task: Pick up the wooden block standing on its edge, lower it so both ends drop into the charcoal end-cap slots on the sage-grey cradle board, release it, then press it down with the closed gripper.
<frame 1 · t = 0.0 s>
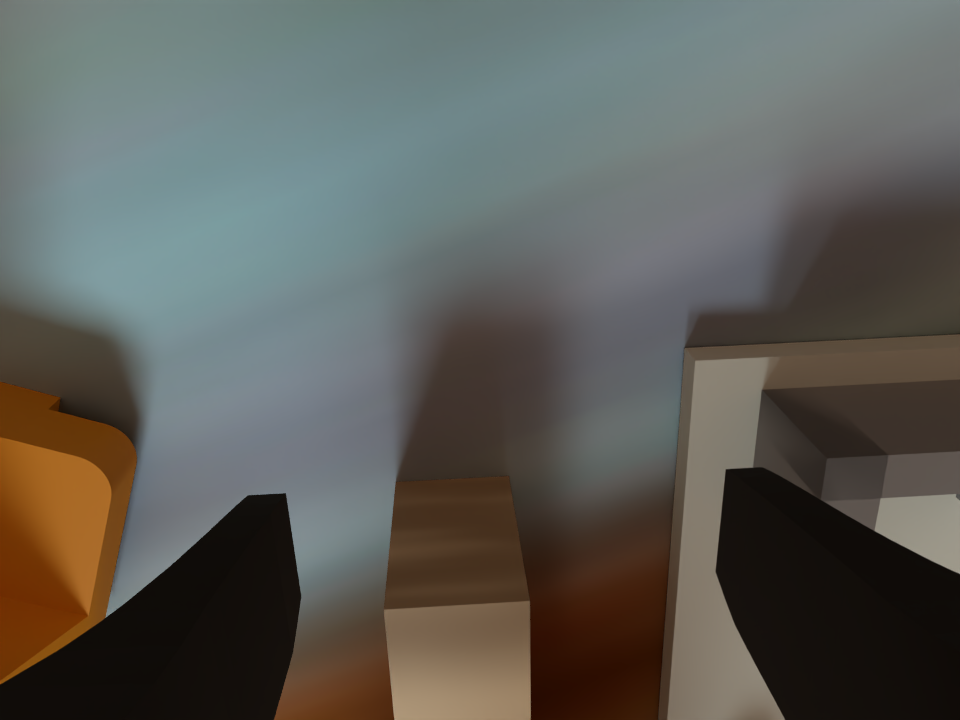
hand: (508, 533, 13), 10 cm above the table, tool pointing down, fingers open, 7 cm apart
wooden block: (461, 652, 27), on the table
cradle: (833, 633, 27), on the table
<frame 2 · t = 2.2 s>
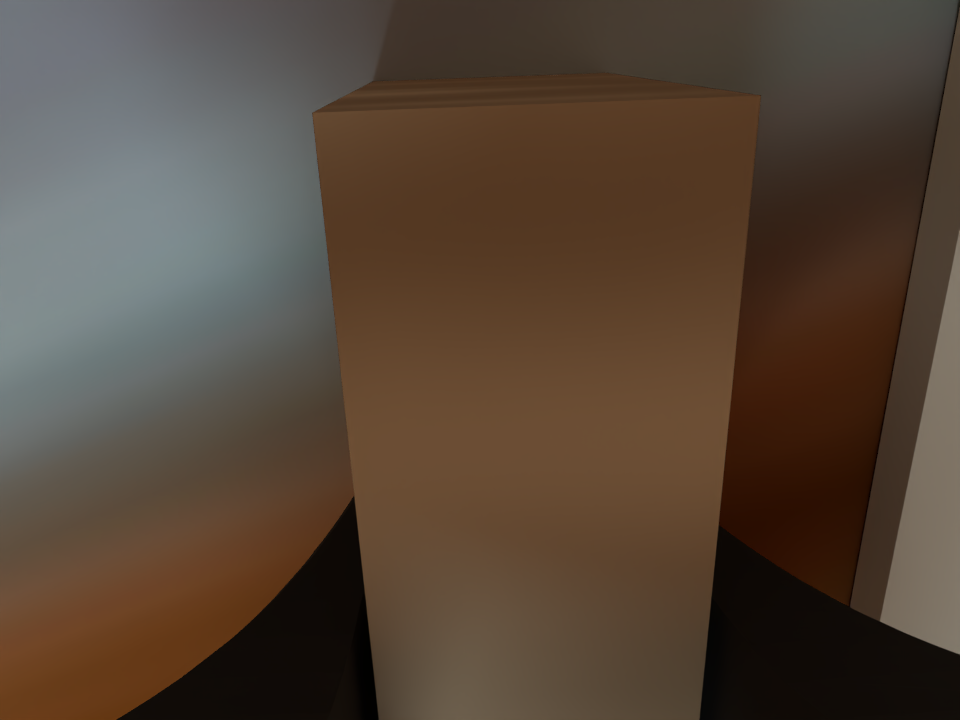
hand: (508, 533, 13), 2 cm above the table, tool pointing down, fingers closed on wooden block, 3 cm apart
wooden block: (500, 482, 14), on the table, touching gripper
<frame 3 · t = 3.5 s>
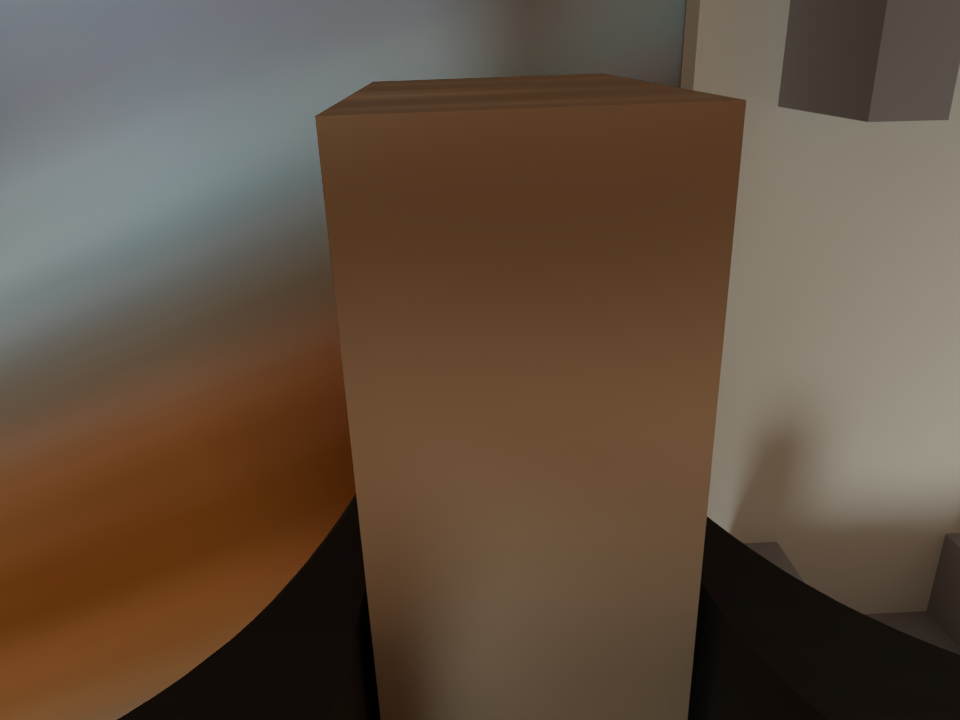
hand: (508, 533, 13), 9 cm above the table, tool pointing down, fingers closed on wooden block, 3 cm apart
wooden block: (498, 474, 14), point 7 cm above the table, touching gripper
cradle: (879, 331, 21), on the table
when the fingers open (4 cm above the table, at t = 5.3 s): wooden block stays where it is, resting on cradle.
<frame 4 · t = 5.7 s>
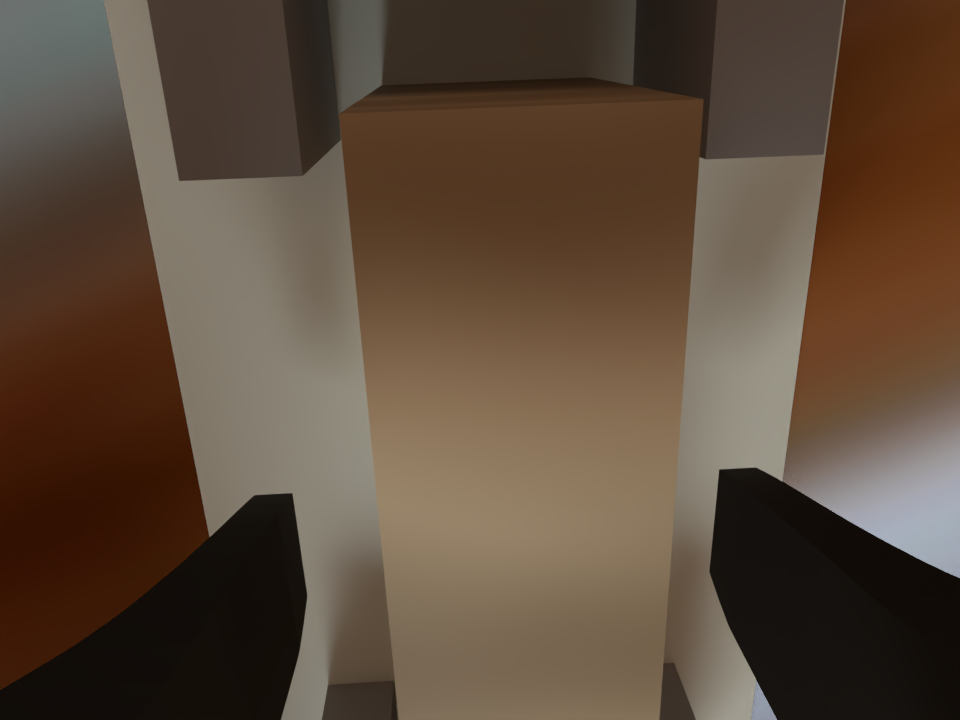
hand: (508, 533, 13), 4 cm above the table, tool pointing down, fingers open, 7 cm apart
wooden block: (497, 449, 16), point 1 cm above the table, touching cradle
cradle: (492, 421, 16), on the table
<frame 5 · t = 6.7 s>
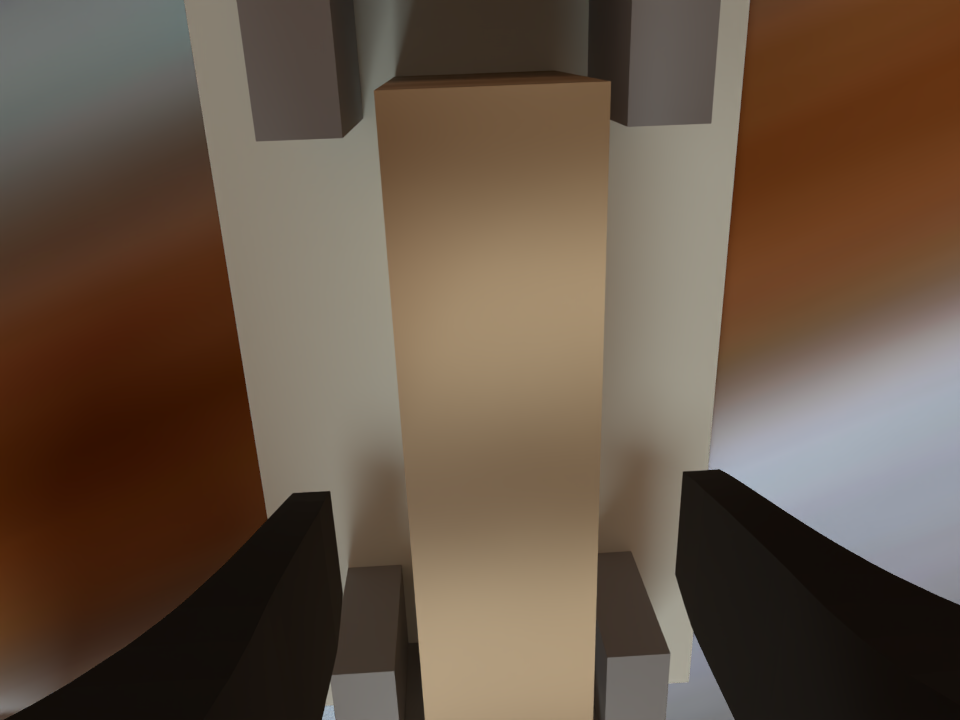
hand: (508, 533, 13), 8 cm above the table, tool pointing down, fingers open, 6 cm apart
wooden block: (484, 367, 20), point 1 cm above the table, touching cradle
cradle: (481, 348, 20), on the table
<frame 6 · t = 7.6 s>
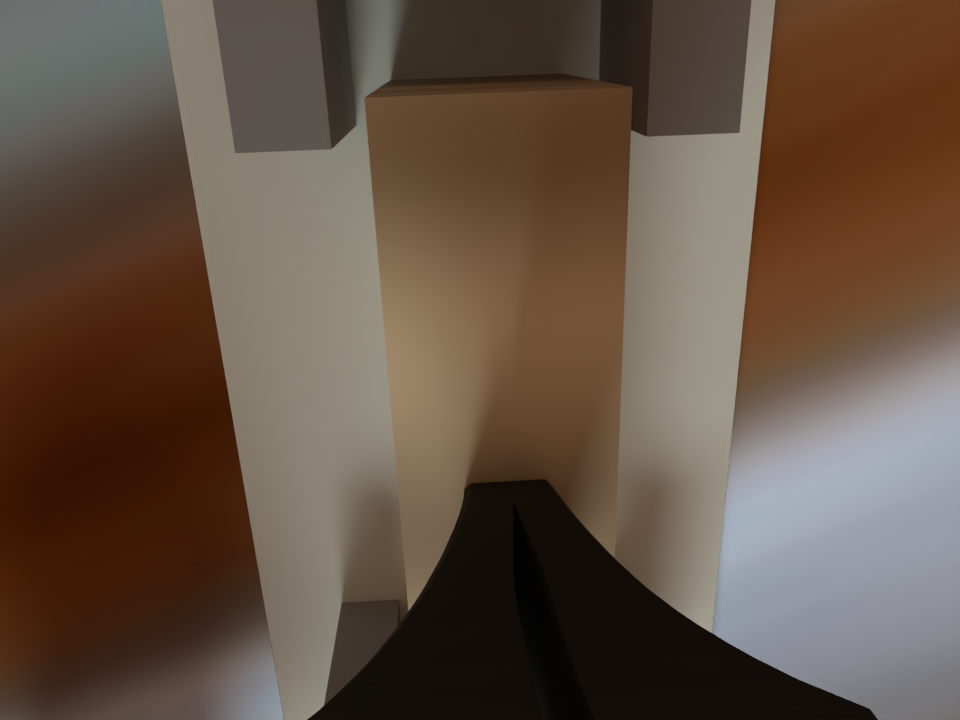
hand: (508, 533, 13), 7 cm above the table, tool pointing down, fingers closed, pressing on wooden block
wooden block: (487, 392, 18), point 1 cm above the table, touching cradle, gripper
cradle: (484, 370, 19), on the table
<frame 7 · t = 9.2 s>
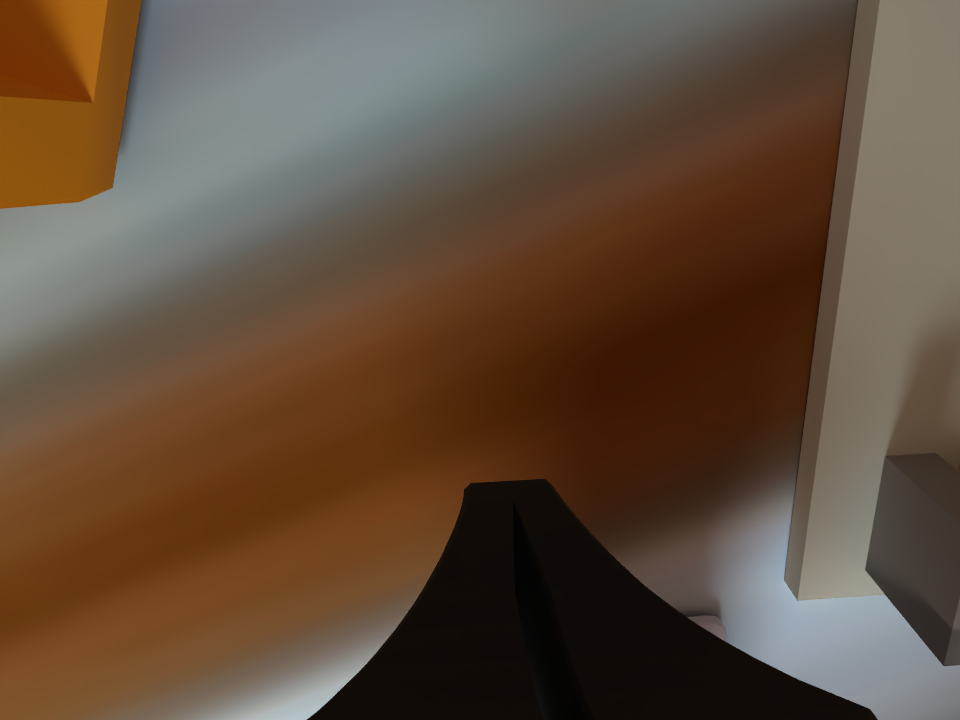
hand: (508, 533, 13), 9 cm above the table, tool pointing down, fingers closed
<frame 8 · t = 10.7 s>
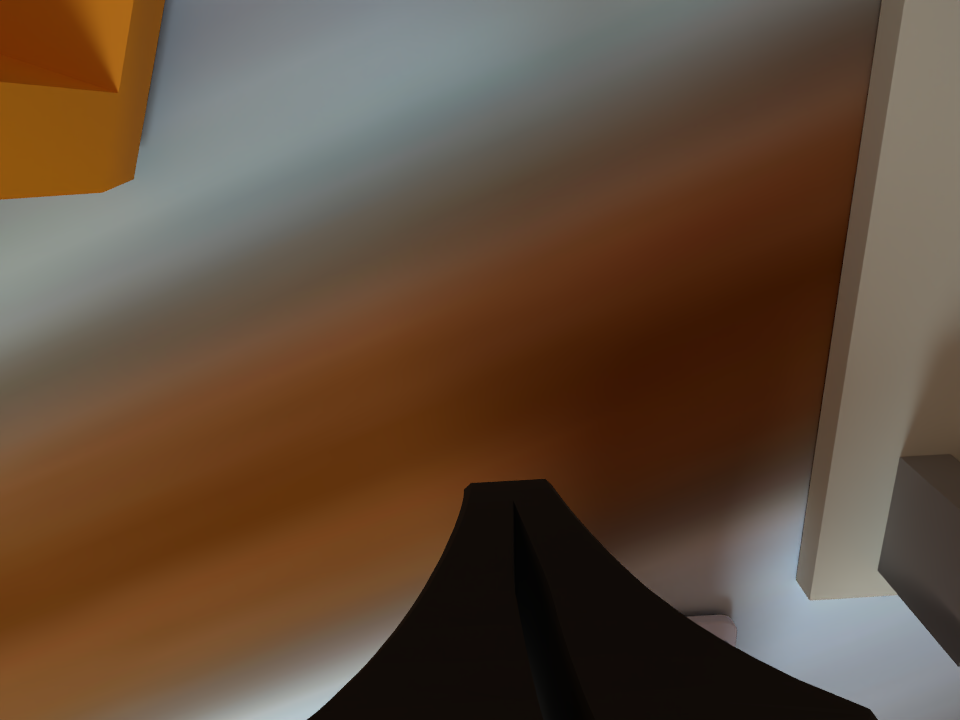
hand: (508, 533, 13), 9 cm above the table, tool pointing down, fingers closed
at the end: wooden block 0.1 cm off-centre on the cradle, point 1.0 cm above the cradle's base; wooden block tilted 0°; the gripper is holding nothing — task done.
